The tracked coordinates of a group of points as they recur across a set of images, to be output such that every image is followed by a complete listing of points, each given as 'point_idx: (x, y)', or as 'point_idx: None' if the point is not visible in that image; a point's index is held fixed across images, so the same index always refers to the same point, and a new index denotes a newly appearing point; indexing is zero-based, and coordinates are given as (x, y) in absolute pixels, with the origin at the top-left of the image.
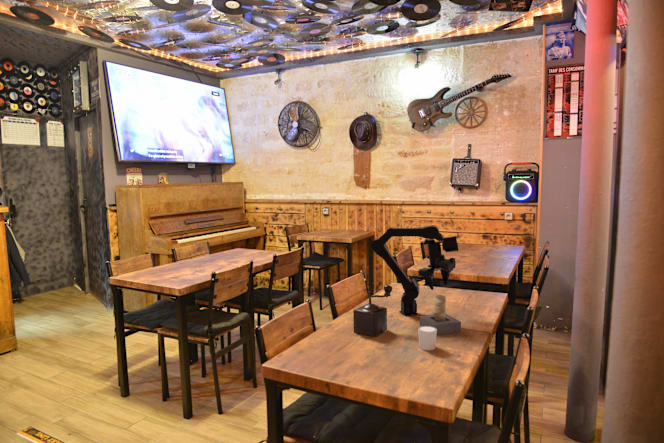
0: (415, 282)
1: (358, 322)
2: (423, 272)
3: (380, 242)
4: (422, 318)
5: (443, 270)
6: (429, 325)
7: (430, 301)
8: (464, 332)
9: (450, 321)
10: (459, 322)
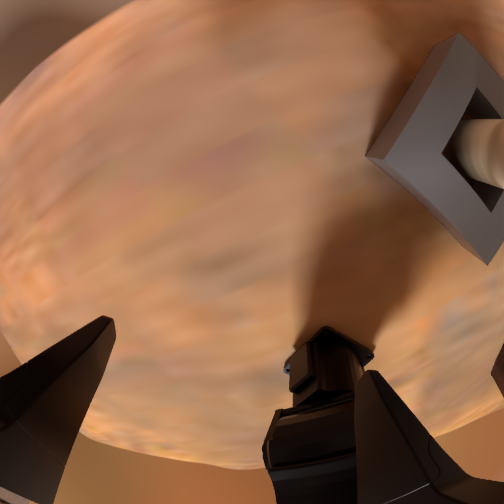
0: (310, 494)
1: None
2: None
3: None
4: (500, 240)
5: (28, 489)
6: None
7: None
8: (432, 30)
9: (489, 85)
10: (464, 39)
